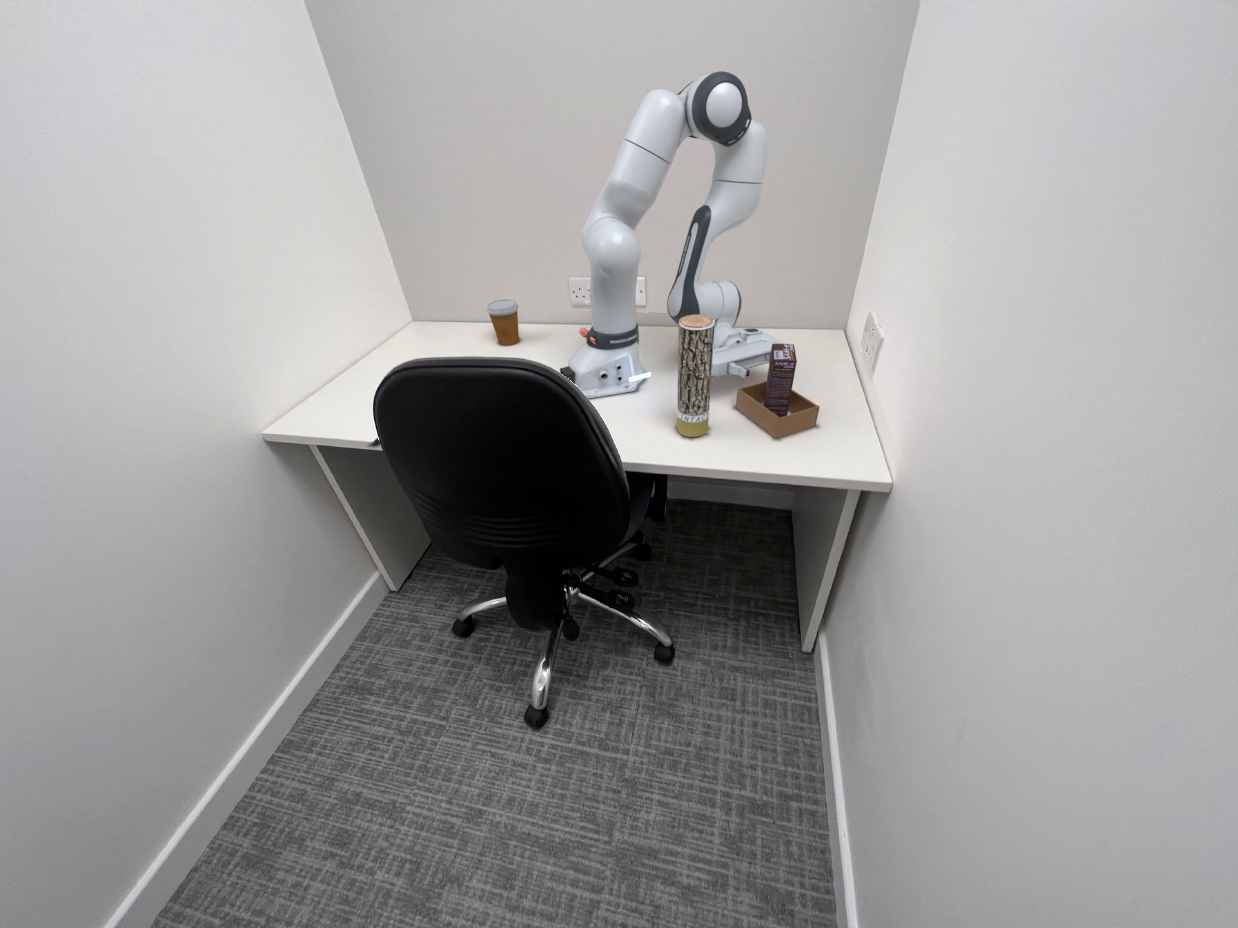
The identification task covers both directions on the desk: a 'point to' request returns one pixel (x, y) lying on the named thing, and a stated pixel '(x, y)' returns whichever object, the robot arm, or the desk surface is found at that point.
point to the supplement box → (780, 378)
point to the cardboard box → (770, 422)
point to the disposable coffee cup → (504, 320)
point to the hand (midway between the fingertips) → (764, 369)
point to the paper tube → (694, 374)
